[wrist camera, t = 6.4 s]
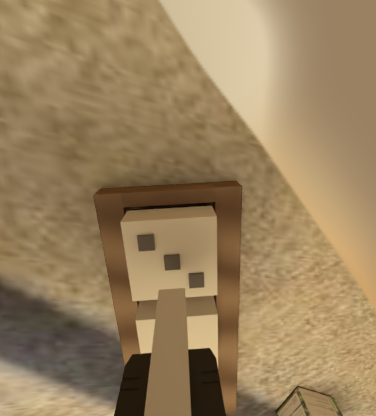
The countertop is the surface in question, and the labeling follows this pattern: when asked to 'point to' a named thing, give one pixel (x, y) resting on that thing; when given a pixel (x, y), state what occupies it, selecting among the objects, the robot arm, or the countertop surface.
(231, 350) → the board
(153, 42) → the countertop surface
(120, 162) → the countertop surface
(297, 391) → the syrup box
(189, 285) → the tile three
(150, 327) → the tile one
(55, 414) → the countertop surface
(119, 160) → the countertop surface
